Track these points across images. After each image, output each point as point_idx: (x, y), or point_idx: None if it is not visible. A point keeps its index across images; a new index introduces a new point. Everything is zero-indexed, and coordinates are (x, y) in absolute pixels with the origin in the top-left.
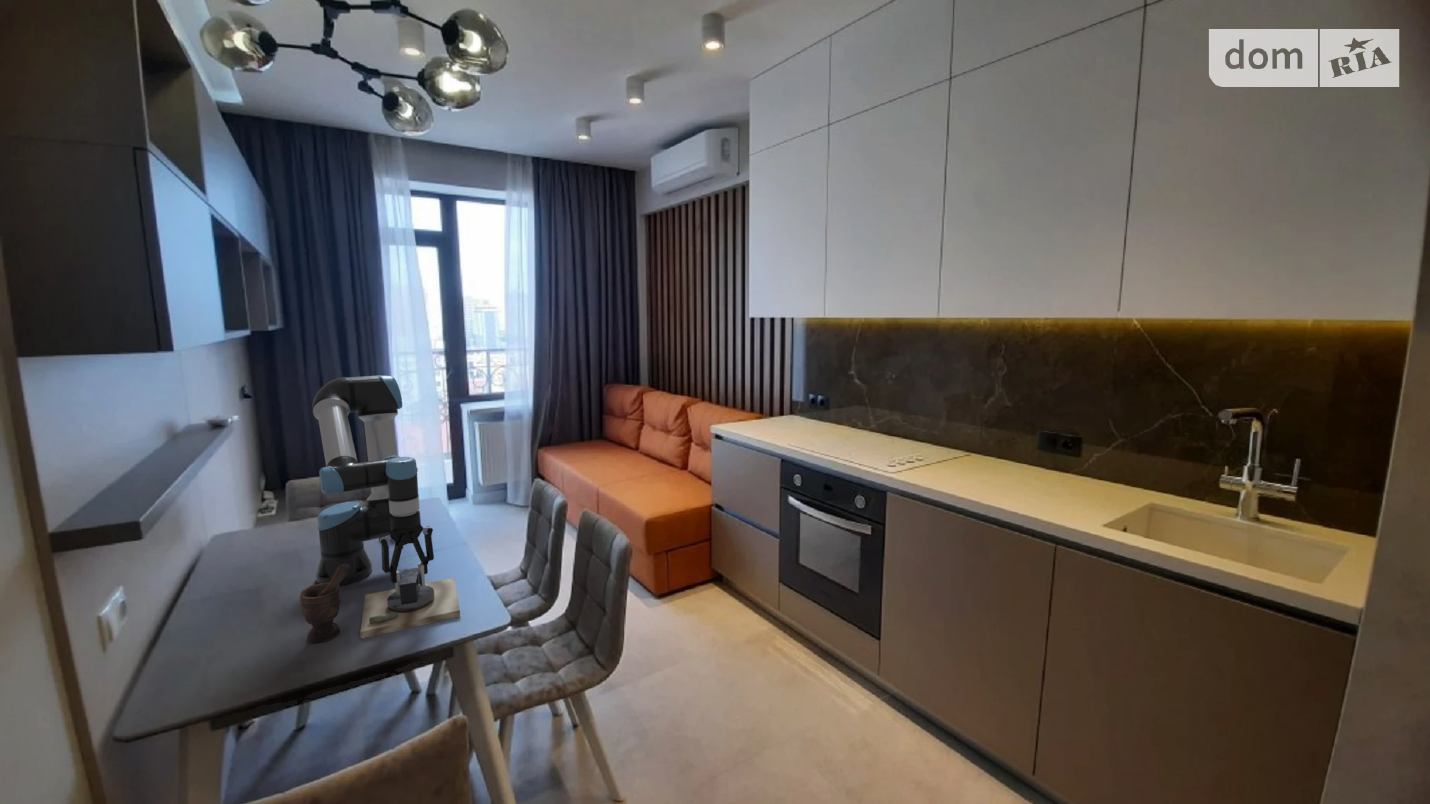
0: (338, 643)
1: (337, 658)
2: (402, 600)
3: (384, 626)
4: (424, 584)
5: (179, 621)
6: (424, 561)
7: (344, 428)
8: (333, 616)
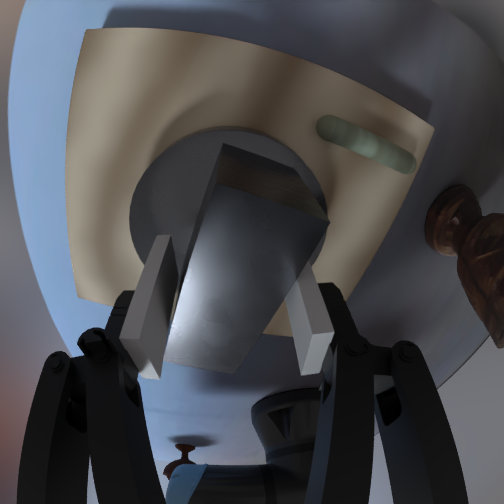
0: (454, 151)
1: (473, 81)
2: (292, 174)
3: (376, 93)
4: (157, 241)
5: (460, 361)
6: (105, 364)
7: None
8: (488, 220)
